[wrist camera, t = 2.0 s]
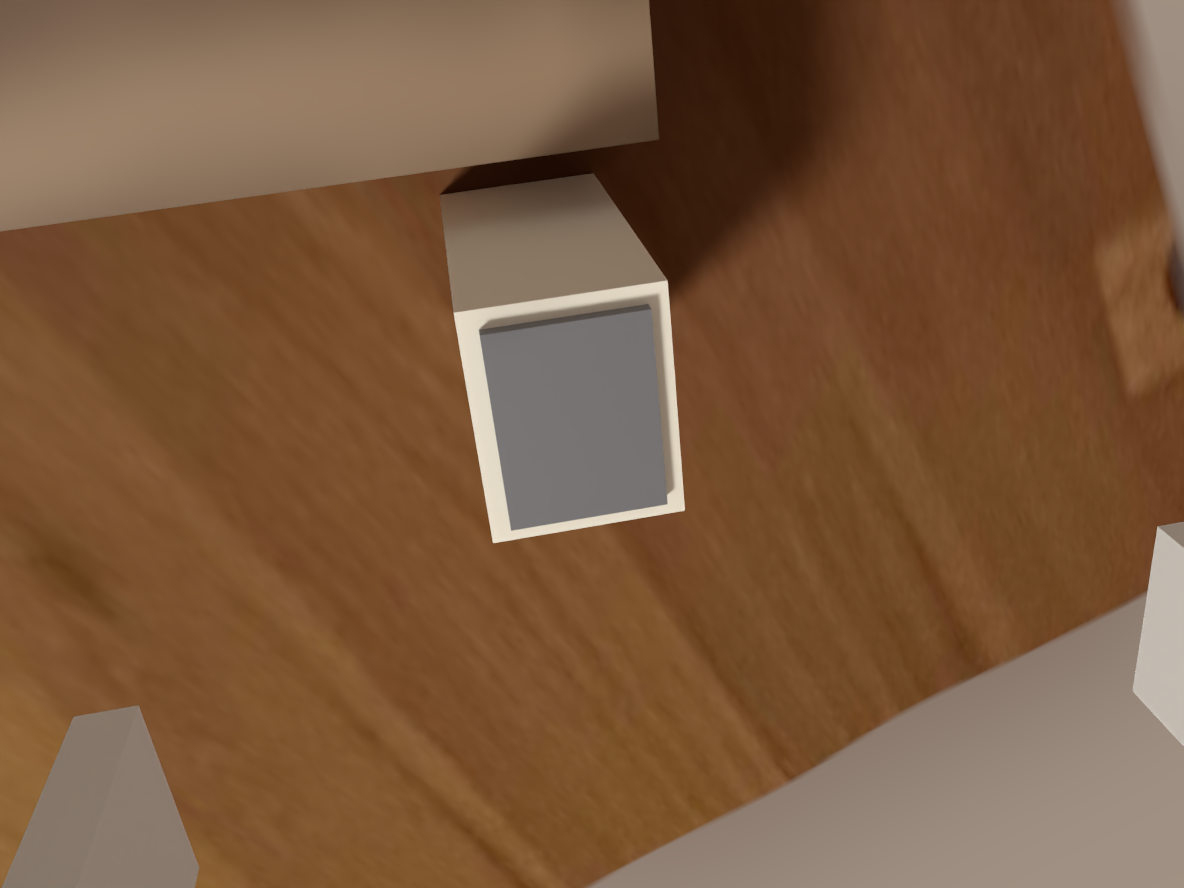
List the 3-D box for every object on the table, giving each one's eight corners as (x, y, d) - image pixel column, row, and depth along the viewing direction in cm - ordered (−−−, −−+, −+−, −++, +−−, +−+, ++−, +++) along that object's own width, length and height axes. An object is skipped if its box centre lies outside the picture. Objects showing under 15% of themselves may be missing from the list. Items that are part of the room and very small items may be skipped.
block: (439, 195, 28) (454, 317, 20) (593, 173, 28) (671, 285, 20) (469, 373, 30) (494, 550, 22) (611, 351, 31) (687, 517, 22)
